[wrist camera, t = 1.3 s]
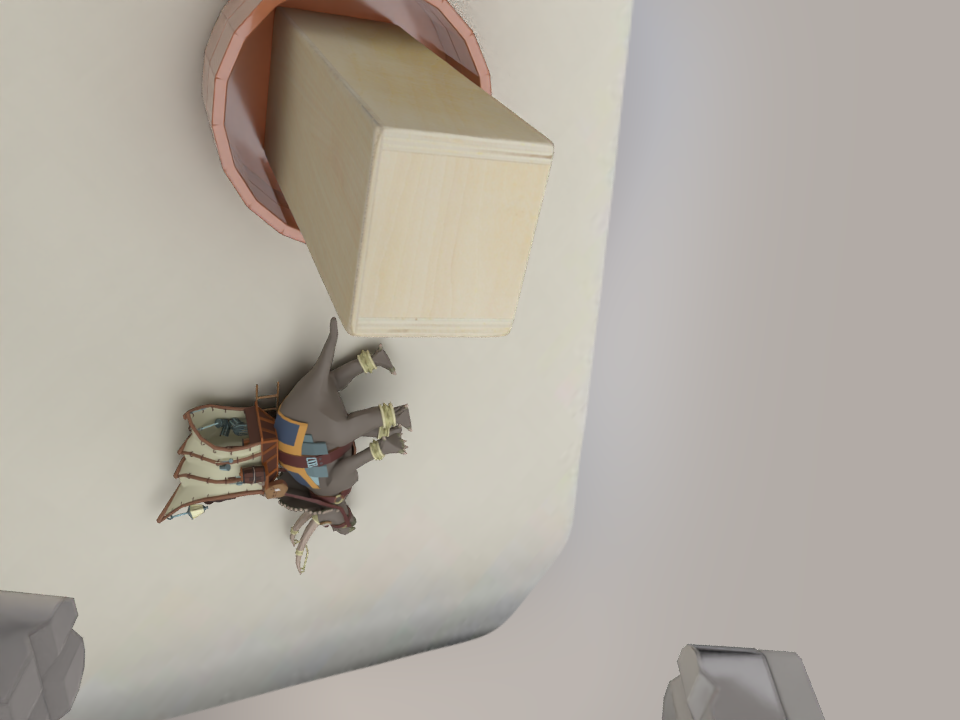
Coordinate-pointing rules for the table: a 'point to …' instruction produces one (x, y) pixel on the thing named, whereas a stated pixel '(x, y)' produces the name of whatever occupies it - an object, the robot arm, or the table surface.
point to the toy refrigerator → (401, 178)
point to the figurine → (289, 447)
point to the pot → (246, 69)
